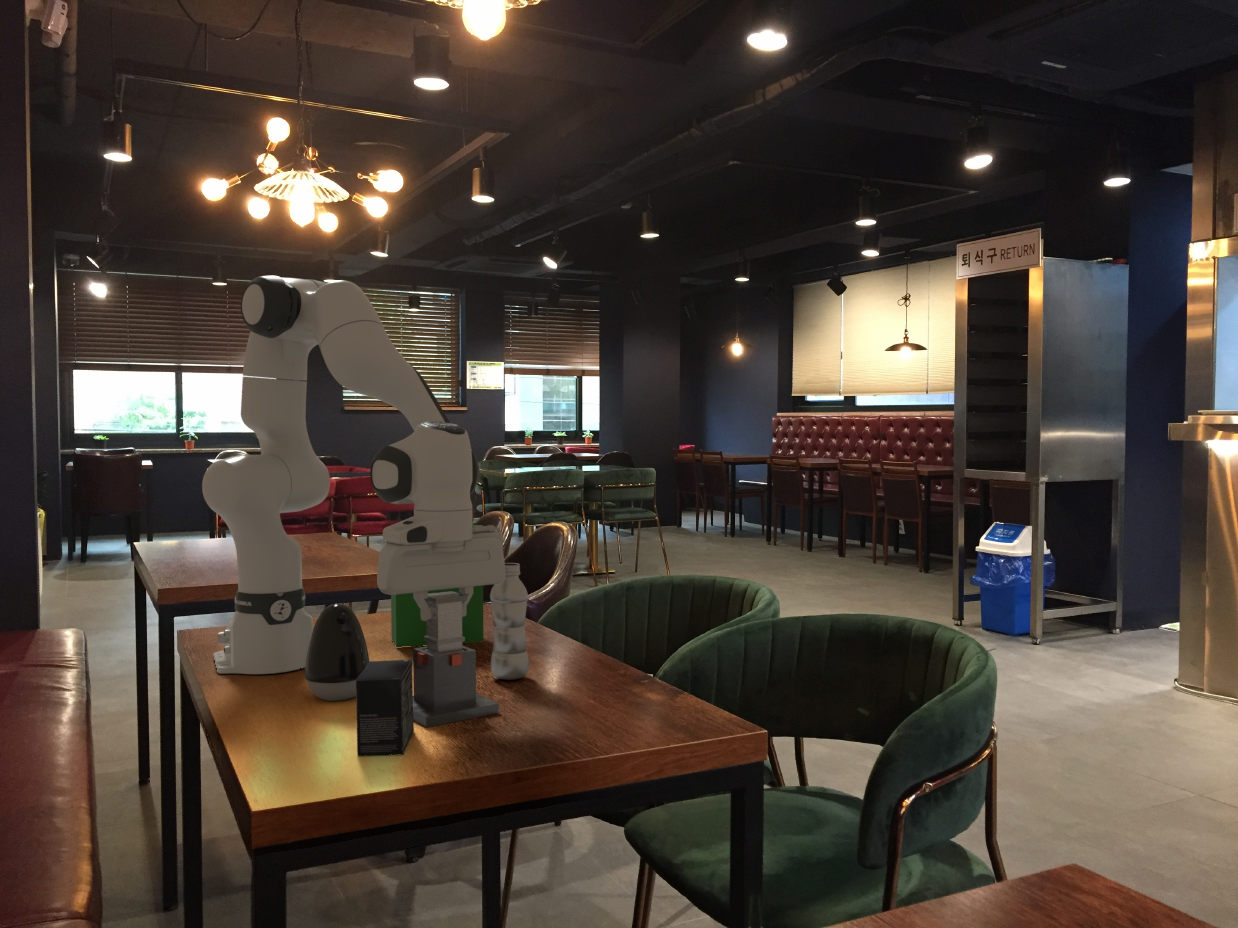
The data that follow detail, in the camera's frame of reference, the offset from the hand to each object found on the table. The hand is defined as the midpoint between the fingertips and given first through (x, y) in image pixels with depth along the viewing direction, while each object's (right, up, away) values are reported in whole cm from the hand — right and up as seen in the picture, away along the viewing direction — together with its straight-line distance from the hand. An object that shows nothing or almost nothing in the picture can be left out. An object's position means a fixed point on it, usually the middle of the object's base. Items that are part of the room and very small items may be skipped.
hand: (443, 618), depth 147 cm
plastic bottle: (+8, -14, +20) cm, 26 cm away
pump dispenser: (-19, -14, +9) cm, 25 cm away
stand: (0, -14, 0) cm, 14 cm away
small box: (-5, -15, -15) cm, 22 cm away
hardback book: (-11, -13, +51) cm, 54 cm away
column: (0, -11, 0) cm, 11 cm away
